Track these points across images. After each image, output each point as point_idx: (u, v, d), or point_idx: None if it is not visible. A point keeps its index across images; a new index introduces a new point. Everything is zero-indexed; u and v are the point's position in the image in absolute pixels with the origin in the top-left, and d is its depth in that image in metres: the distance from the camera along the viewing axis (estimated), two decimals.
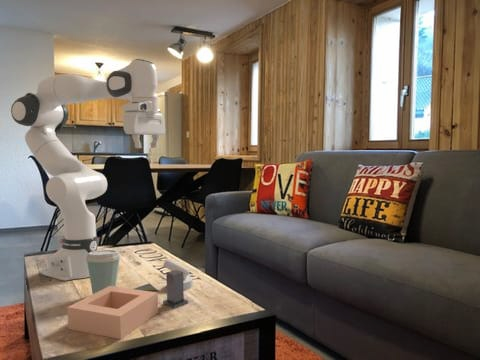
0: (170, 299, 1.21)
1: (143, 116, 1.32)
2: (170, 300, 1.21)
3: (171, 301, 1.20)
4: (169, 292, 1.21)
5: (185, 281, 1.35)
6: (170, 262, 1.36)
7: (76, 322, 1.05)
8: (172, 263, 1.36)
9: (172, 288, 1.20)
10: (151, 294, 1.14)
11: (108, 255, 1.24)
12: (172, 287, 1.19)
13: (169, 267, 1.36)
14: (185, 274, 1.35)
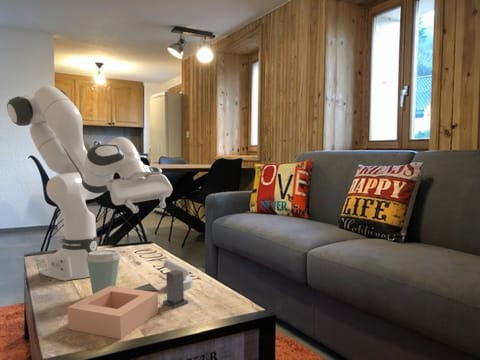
0: (170, 299, 1.21)
1: None
2: (170, 300, 1.21)
3: (171, 301, 1.20)
4: (169, 292, 1.21)
5: (185, 281, 1.35)
6: (170, 262, 1.36)
7: (76, 322, 1.05)
8: (172, 263, 1.36)
9: (172, 288, 1.20)
10: (151, 294, 1.14)
11: (108, 255, 1.24)
12: (172, 287, 1.19)
13: (169, 267, 1.36)
14: (185, 274, 1.35)
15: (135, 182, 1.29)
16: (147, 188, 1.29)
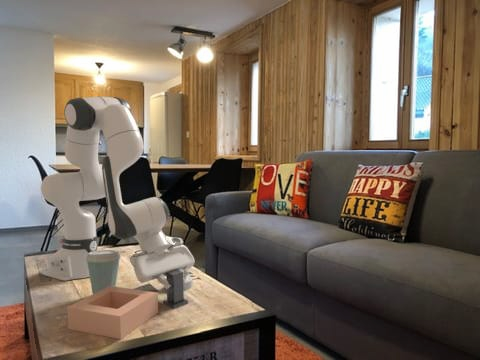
0: (170, 299, 1.21)
1: None
2: (170, 300, 1.21)
3: (171, 301, 1.20)
4: (169, 292, 1.21)
5: (185, 281, 1.35)
6: None
7: (76, 322, 1.05)
8: None
9: (172, 288, 1.20)
10: (151, 294, 1.14)
11: (108, 255, 1.24)
12: (172, 287, 1.19)
13: None
14: (185, 274, 1.35)
15: (159, 256, 1.23)
16: (171, 262, 1.24)
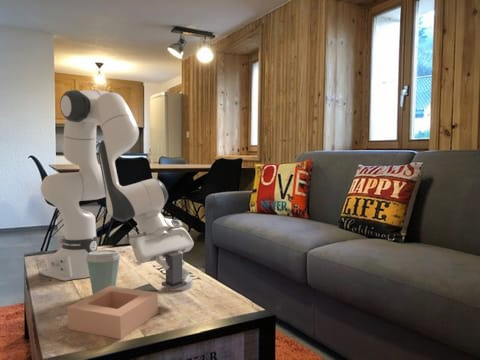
0: (168, 280, 1.21)
1: None
2: (169, 281, 1.20)
3: (170, 282, 1.20)
4: (168, 273, 1.20)
5: (185, 281, 1.35)
6: None
7: (76, 322, 1.05)
8: None
9: (171, 269, 1.19)
10: (151, 294, 1.14)
11: (108, 255, 1.24)
12: (171, 268, 1.19)
13: None
14: (185, 274, 1.35)
15: (158, 237, 1.23)
16: (170, 244, 1.24)
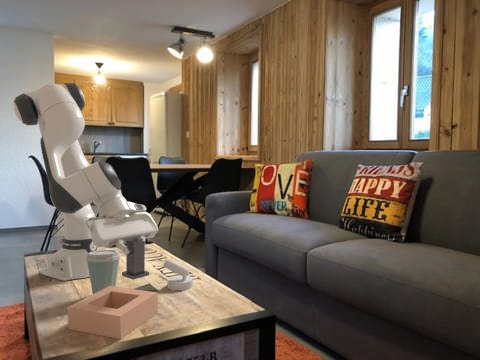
0: (129, 270, 1.12)
1: None
2: (129, 271, 1.12)
3: (131, 271, 1.12)
4: (129, 262, 1.12)
5: (185, 281, 1.35)
6: (170, 262, 1.36)
7: (76, 322, 1.05)
8: (172, 263, 1.36)
9: (132, 258, 1.11)
10: (151, 294, 1.14)
11: (108, 255, 1.24)
12: (132, 256, 1.11)
13: (169, 267, 1.36)
14: (185, 274, 1.35)
15: (119, 221, 1.15)
16: (132, 228, 1.15)
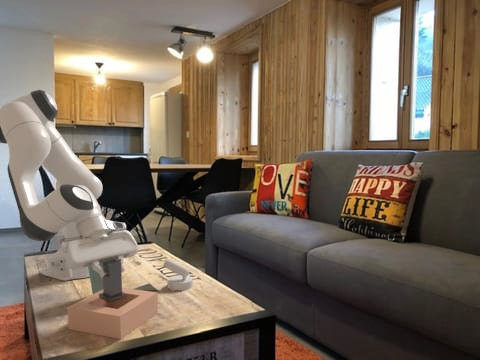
0: (106, 292, 1.09)
1: None
2: (106, 293, 1.08)
3: (107, 294, 1.08)
4: (106, 284, 1.08)
5: (185, 281, 1.35)
6: (170, 262, 1.36)
7: (76, 322, 1.05)
8: (172, 263, 1.36)
9: (108, 280, 1.07)
10: (151, 294, 1.14)
11: None
12: (108, 279, 1.07)
13: (169, 267, 1.36)
14: (185, 274, 1.35)
15: (96, 241, 1.11)
16: (110, 248, 1.12)
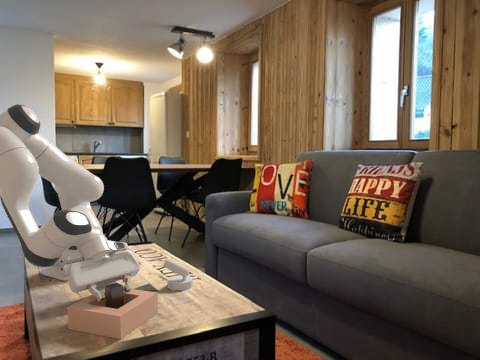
0: None
1: None
2: None
3: None
4: (108, 307, 1.09)
5: (185, 281, 1.35)
6: (170, 262, 1.36)
7: (76, 322, 1.05)
8: (172, 263, 1.36)
9: (110, 304, 1.08)
10: (151, 294, 1.14)
11: None
12: (110, 302, 1.08)
13: (169, 267, 1.36)
14: (185, 274, 1.35)
15: (98, 262, 1.12)
16: (112, 269, 1.12)
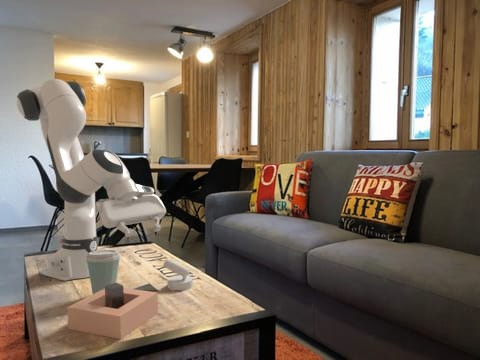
0: None
1: None
2: None
3: None
4: (108, 307, 1.09)
5: (185, 281, 1.35)
6: (170, 262, 1.36)
7: (76, 322, 1.05)
8: (172, 263, 1.36)
9: (110, 304, 1.08)
10: (151, 294, 1.14)
11: (108, 255, 1.24)
12: (110, 302, 1.08)
13: (169, 267, 1.36)
14: (185, 274, 1.35)
15: (127, 202, 1.17)
16: (140, 210, 1.18)
